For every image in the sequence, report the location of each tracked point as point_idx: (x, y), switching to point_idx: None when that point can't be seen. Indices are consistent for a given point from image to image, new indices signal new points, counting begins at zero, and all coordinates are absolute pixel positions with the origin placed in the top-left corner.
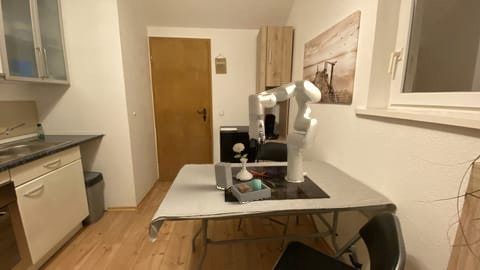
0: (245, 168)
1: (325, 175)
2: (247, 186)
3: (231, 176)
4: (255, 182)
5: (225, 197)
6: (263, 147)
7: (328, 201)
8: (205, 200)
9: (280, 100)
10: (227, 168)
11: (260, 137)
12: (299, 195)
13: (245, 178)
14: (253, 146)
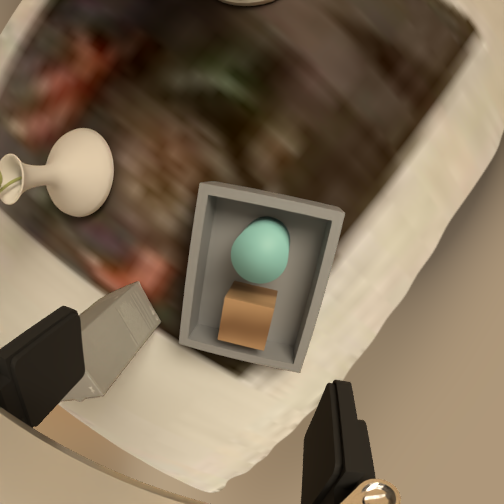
0: (53, 169)
1: None
2: (255, 310)
3: (113, 308)
4: (275, 278)
5: (209, 358)
6: (352, 413)
7: (495, 62)
8: (191, 411)
9: None
10: (101, 367)
11: (119, 486)
12: (407, 87)
13: (105, 190)
14: (78, 340)
